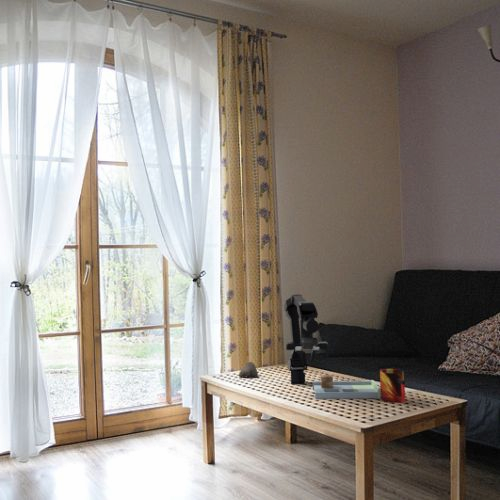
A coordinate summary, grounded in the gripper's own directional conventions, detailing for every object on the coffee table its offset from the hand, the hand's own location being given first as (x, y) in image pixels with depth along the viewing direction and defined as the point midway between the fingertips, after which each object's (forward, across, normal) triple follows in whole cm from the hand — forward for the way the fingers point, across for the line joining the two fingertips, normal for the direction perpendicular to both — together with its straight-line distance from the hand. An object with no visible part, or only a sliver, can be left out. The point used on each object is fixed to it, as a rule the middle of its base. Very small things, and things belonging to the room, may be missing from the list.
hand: (307, 365), depth 268 cm
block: (+10, +8, 0) cm, 13 cm away
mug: (+12, +36, -17) cm, 42 cm away
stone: (+12, -28, +36) cm, 47 cm away
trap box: (+12, +16, -4) cm, 20 cm away
